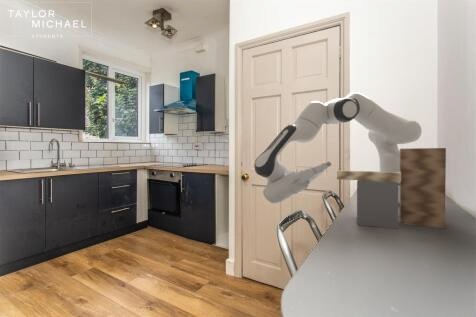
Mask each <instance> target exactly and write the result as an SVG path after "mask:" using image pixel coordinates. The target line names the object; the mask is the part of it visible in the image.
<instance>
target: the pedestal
mask: <svg viewBox="0 0 476 317" xmlns="http://www.w3.org/2000/svg"><path fill="white" fill-rule="evenodd" d="M399 151H400V172H401V182H400V204H399V203H398V218H399V221H400V224H404V225H412V226H419V227H420V226H422V227H430V228H438V229H440V228H441V229H445V228H446V177H447V176H446V173H447V172H446V171H447V170H446V167H447V166H446V164H447V162H446V161H447V148H446V147H437V148H436V147H420V148H419V147H418V148H399Z"/></svg>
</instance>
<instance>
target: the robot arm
mask: <svg viewBox="0 0 476 317" xmlns="http://www.w3.org/2000/svg"><path fill="white" fill-rule="evenodd" d="M353 120H355V121H356V122H357V123H358V124H360V125H361V126H363V128H365V129H367V130H368V139H369V140H370V141H371V143H373V145H374V146H375V148H376V150H377V153H378V158H379V172H400V148H399V146H398V145H404V144H406V145H407V144H410V143H414V142H417V141H418V140H419V139H420V137H422V136H421V135H422V126H421V124H420V123H419V122H417V120H411V119H407V118H404V117H402V116H399V115H396V114H394V113H391V112H389V111H387V110H385V109H384V108H383V107H382V106H380V105H379V104H378V103H376V102H375V101H373V100H372V99H370V98H369V97H368V96H366V95H364V94H362V93H360V92H357V91H354V92H350V93H349V94H348V95H346V97H341V98H335V99H334V98H333V99H331V100H329V101H325V102H321V101H317V100H314V101H311V102H309V103H308V104H307V105H306V106H305V108H303V110H302V111H301V113H300V114H299V115H298V117H297V119H296V120H295V121H294V122H293V123H292V124H288V125H287V126H284V128H283V129H282V130H281V131H280V132H279V133H278V134H277V136H276V137H275V138H274V139H273V141H272V142H270V144H269V145H268V146H267V148H266V149H265V150H264V151H263V152H262V153H261V154H259V155H258V156H257V158H256V159H255V160H254V164H253V165H254V171H255V173H256V174H257V175H259V176H260V177H263V178H265V179H266V180H267V183H266V187H264V189H263V190H262V193H263V194H262V195H263V196H264V197H265V199H266V200H267V201H268V202H269V203H271V204H278V203H281V202H284V201H285V200H287V199H289V198H290V197H291V196H293V195H296V194H299V193H301V192H303V191H304V190H306V189H308V186H309V185H310V184H311V183H312V181H313V180H315V179H316V178H318V177H319V176H321V175H322V174H324V172H325V170H326V169H328V168H329V167H331V166H332V162H331V161H327V162H326V163H325V162H324V163H321V164H317V165H314V166H311V167H308V168H306V169H300V170H299V169H294V170H292V171H291V169H290V168H289V167H288V166H287V165H285V164H284V163H283V162H282V161H280V160H278V156H279V155H280V154H281V153H282V151H284V149H285V148H286V146H288V145H289V144H290V143H292V142H298V143H309V142H311V141H313V140H314V139H315V138H316V136H317V135H318V133H319V131H320V130H321V128H322V126H323V125H324V124H327V125H330V124H331V125H333V124H334V125H335V124H337V125H338V124H341V123H349V122H351V121H353ZM399 204H400V182H398V205H399Z"/></svg>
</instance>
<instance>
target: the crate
mask: <svg viewBox="0 0 476 317" xmlns="http://www.w3.org/2000/svg"><path fill="white" fill-rule="evenodd" d="M356 225H361V226H369V227H376V228H377V227H378V228H383V229H385V228H386V229H391V228H392V229H393V230H399V203H398V182H389V181H366V180H356ZM392 229H391V230H392Z"/></svg>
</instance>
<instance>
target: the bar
mask: <svg viewBox="0 0 476 317" xmlns="http://www.w3.org/2000/svg"><path fill="white" fill-rule="evenodd" d="M336 179H337V180H344V181H345V180H346V181H349V180H350V181H358V180H366V181H389V182H401V172H380V171H374V170H373V171H369V170H368V171H365V170H364V171H363V170H337V171H336Z"/></svg>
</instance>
